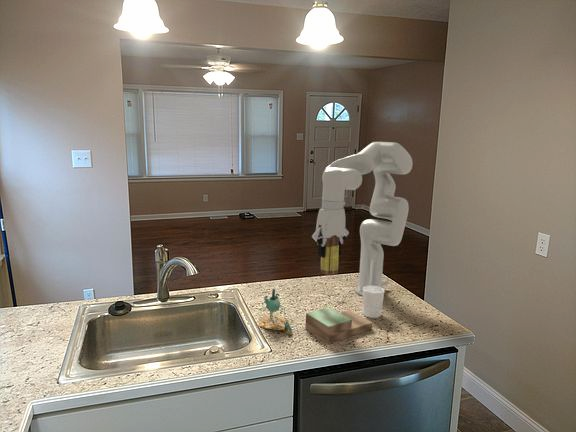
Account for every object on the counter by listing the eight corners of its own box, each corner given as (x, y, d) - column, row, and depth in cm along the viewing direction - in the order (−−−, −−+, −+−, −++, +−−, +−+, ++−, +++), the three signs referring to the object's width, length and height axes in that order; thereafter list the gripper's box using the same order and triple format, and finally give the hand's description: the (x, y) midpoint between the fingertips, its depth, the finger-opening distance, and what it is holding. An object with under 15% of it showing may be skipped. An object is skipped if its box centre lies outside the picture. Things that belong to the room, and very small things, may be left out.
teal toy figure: (273, 341, 139) (272, 296, 137) (250, 324, 154) (248, 284, 153) (299, 334, 143) (297, 291, 142) (274, 319, 159) (272, 280, 157)
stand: (348, 316, 158) (349, 301, 157) (372, 329, 149) (373, 313, 148) (305, 329, 147) (306, 313, 146) (327, 343, 138) (328, 326, 136)
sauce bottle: (337, 271, 155) (341, 217, 151) (337, 276, 149) (341, 220, 145) (319, 269, 156) (323, 216, 152) (318, 275, 150) (322, 219, 146)
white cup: (365, 319, 156) (367, 293, 155) (358, 310, 164) (359, 285, 162) (385, 318, 158) (387, 292, 156) (377, 309, 166) (379, 285, 164)
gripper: (344, 202, 156) (341, 250, 159) (306, 204, 146) (303, 255, 149) (358, 205, 149) (355, 255, 153) (319, 208, 140) (316, 261, 143)
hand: (329, 255), depth 151 cm, fingers closed on sauce bottle, 6 cm apart
